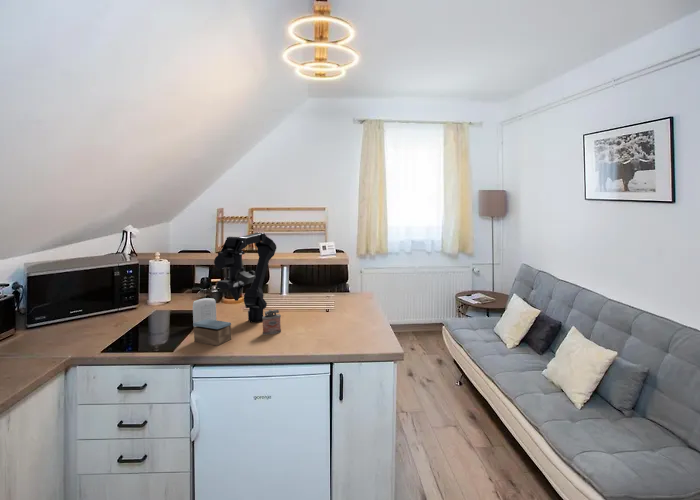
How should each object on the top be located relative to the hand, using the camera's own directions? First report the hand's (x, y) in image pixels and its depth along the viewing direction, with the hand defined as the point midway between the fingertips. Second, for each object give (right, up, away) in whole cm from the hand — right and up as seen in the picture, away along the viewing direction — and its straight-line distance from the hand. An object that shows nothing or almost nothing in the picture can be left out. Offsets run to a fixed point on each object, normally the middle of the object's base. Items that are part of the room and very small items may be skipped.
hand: (236, 300), depth 186 cm
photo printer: (-17, -12, +8) cm, 22 cm away
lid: (-6, -8, -13) cm, 17 cm away
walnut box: (-6, -15, -13) cm, 20 cm away
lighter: (+16, -14, -3) cm, 21 cm away
